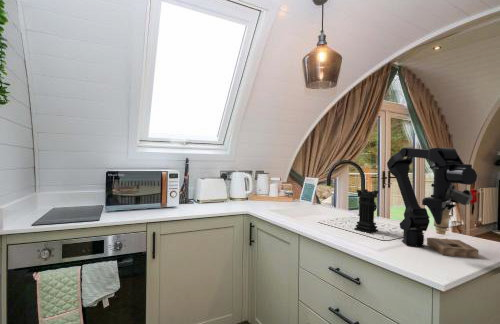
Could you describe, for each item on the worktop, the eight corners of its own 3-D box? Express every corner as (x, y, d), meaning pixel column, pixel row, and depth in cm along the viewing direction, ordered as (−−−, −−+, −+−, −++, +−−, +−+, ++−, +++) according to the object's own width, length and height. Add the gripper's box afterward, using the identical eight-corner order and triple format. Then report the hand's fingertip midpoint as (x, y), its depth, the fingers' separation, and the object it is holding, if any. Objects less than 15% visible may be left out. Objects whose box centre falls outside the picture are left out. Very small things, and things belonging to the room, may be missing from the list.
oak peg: (437, 234, 97) (438, 210, 97) (431, 231, 101) (432, 207, 101) (451, 235, 96) (452, 210, 96) (444, 232, 100) (445, 208, 100)
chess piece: (369, 233, 127) (370, 192, 127) (354, 229, 134) (355, 190, 133) (378, 231, 132) (379, 190, 131) (363, 227, 138) (364, 189, 138)
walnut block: (442, 255, 101) (442, 247, 101) (426, 244, 113) (427, 237, 113) (478, 257, 99) (478, 249, 99) (458, 246, 111) (458, 239, 111)
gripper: (460, 185, 86) (457, 233, 87) (479, 182, 97) (477, 225, 97) (422, 181, 95) (420, 225, 96) (443, 180, 106) (441, 218, 106)
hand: (441, 223), depth 99 cm, fingers closed on oak peg, 4 cm apart
